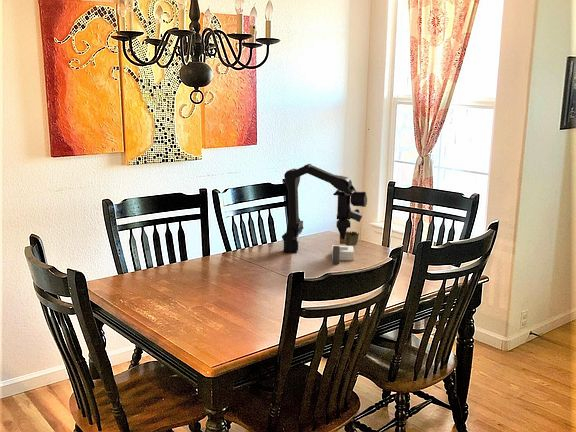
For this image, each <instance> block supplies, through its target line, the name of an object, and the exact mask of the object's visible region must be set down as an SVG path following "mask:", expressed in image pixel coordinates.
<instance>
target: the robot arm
mask: <svg viewBox="0 0 576 432" xmlns="http://www.w3.org/2000/svg"><path fill="white" fill-rule="evenodd" d="M307 174H308V175H310V176H312V177H314V178H317V179H319V180H322V181H324V182H326V183H329V184H330V185H331V186H332V187H333V188H335V189H336V191H335V192H333V194H332V195H333V196H337V210H336V211H337V213H336V228H337V230H338V232H339V237H340V236H341V238H342V239H344V237H345V233H346V229H350V228H351V221H350V220H353V221H356V222H359V223H360V222H361V221H362V218H363V214H362V212H360V209H358V208H355V210H353V209H352V208H351V205H352V206H353V207H360V208H361V207H364V208H365V207H367V205H368V197H367V192H366V191H357V190H356V188H355V187H354V186H353V183H352V179H351V178H349V177H348V176H343V175H337V174H333V173H331V172H329V171H326V170H324V169H321V168H320V167H317V166H315V165H313V164H312V163H307V164H305V165H303V166H301V167H299V168H291V169H289V170H287V171H286V172H285V173H284V175H283V176H284V177H283V178H284V181H285V186H286V188H287V191H288V193H287V194H288V196H287V197H288V214H289V215H288V221H287V224H286V225H287V226H286V232H285V233H284V234H282V236H281V238H282V240H283V251H282V253H294V254H296V253H298V251H299V240H298V237H299V235H300V234H301V233H303V230H304V220H301V219H300V214H299V185H300V182H301V177H302V176H303V175H307Z"/></svg>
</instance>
